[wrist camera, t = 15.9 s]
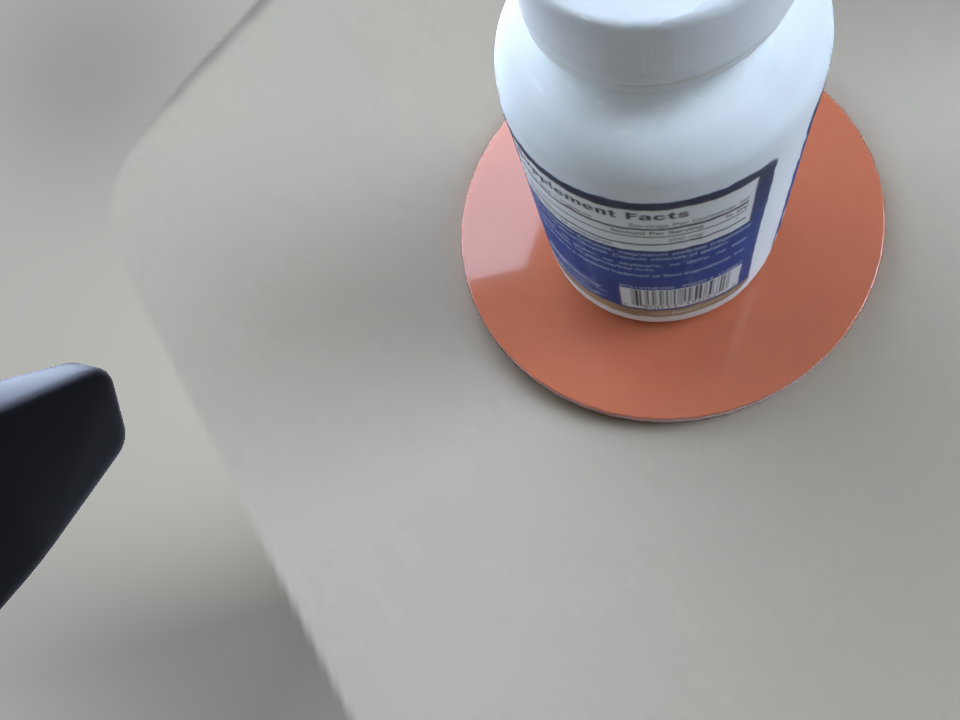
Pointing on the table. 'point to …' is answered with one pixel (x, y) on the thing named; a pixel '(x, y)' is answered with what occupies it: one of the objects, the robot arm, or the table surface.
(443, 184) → the table surface
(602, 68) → the pill bottle
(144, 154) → the table surface
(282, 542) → the table surface
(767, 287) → the coaster
